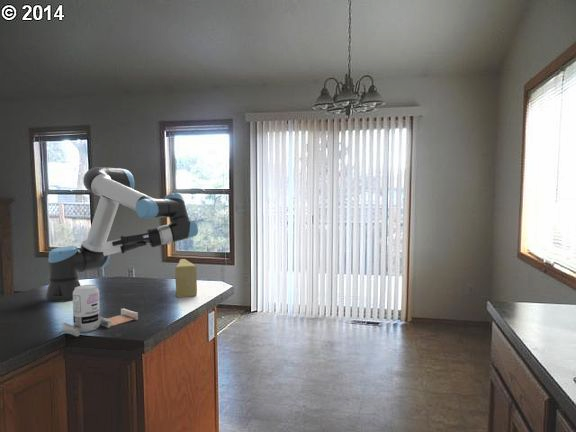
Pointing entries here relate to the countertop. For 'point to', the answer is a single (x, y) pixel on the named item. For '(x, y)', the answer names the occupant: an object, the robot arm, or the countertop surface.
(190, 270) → the cheese
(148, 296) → the countertop surface
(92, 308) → the sparkling water can
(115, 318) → the rack with upright dividers
